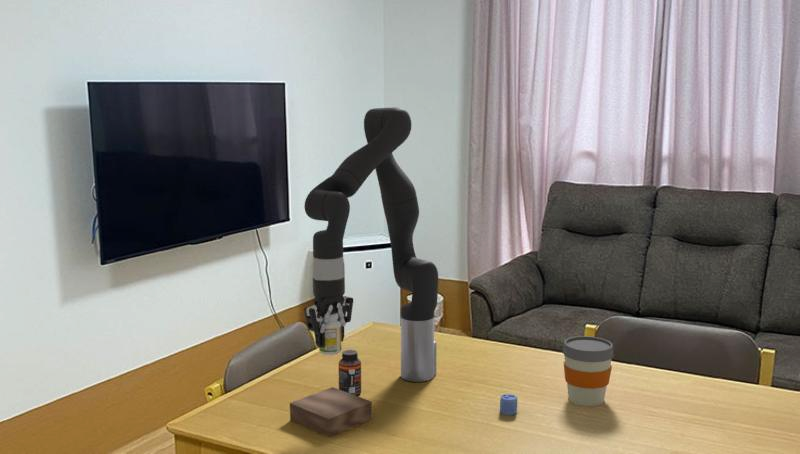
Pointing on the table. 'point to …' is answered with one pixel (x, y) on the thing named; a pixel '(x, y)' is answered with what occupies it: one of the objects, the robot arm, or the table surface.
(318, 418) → the walnut stand
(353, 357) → the supplement bottle
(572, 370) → the reusable coffee cup
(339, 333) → the supplement bottle
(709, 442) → the table surface
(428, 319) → the robot arm
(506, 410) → the decorative dice
